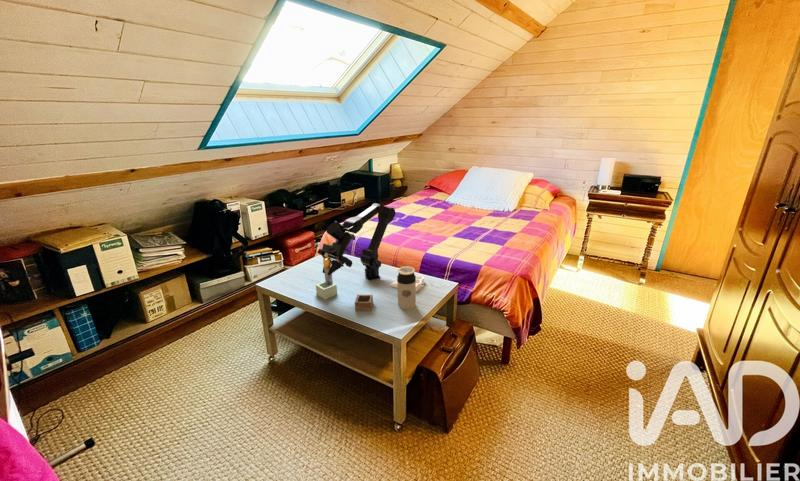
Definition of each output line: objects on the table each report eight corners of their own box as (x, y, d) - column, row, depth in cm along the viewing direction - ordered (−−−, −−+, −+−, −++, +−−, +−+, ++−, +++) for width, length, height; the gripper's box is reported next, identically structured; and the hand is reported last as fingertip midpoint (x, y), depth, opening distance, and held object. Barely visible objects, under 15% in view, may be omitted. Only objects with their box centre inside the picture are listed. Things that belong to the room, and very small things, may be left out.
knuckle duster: (406, 276, 190) (430, 284, 182) (385, 291, 177) (410, 299, 169) (406, 271, 189) (430, 278, 181) (385, 285, 175) (410, 293, 167)
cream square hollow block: (329, 290, 177) (328, 279, 175) (337, 295, 173) (336, 284, 170) (316, 295, 173) (315, 284, 171) (324, 301, 168) (323, 289, 166)
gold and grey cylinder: (333, 282, 168) (331, 258, 164) (330, 285, 166) (328, 261, 161) (327, 281, 169) (324, 257, 165) (324, 285, 166) (321, 260, 162)
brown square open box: (357, 304, 165) (357, 294, 163) (373, 304, 165) (372, 294, 163) (355, 312, 159) (354, 302, 157) (371, 312, 158) (370, 302, 156)
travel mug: (400, 300, 167) (400, 265, 161) (417, 302, 165) (417, 267, 159) (395, 309, 160) (394, 273, 154) (413, 312, 158) (412, 275, 152)
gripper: (318, 231, 168) (301, 261, 164) (345, 240, 156) (328, 273, 153) (332, 242, 176) (317, 271, 172) (359, 251, 165) (343, 282, 161)
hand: (325, 274), depth 164 cm, fingers closed on gold and grey cylinder, 3 cm apart
